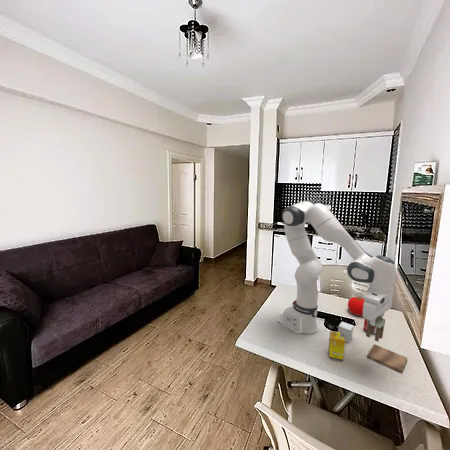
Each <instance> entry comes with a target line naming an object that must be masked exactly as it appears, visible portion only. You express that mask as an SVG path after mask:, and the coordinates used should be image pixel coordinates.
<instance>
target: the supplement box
mask: <svg viewBox="0 0 450 450" xmlns="http://www.w3.org/2000/svg"><path fill="white" fill-rule="evenodd" d="M328 340H329V341H328V349H327V350H328V357H329V359H330V360H336V361H340V362H344V355H345V353H344V352H345V346H346V341H345V339H344V334H343V333H339V332H338V331H334V330H333V331H332V330H330V332H329V339H328Z"/></svg>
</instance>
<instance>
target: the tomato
mask: <svg viewBox="0 0 450 450" xmlns="http://www.w3.org/2000/svg"><path fill="white" fill-rule="evenodd" d="M364 301H365V300H364V299H363V297H360V296H353V297H351V298H349V299H348V302H347V307H348V311H349V312H350V313H351V314H353V315H356V316H363V305H364Z"/></svg>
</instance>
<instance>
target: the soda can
mask: <svg viewBox="0 0 450 450" xmlns="http://www.w3.org/2000/svg"><path fill="white" fill-rule="evenodd" d="M367 326H368V319H365V318H364V321H363V330H364V331H365V332H366V333H367ZM375 334H376V326H375V329H374V334H373V335H375Z"/></svg>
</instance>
